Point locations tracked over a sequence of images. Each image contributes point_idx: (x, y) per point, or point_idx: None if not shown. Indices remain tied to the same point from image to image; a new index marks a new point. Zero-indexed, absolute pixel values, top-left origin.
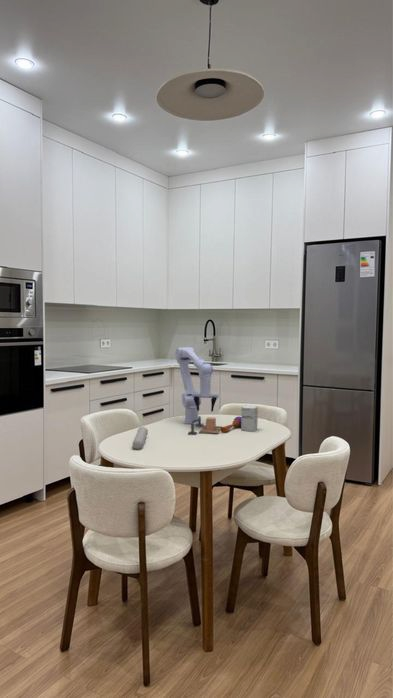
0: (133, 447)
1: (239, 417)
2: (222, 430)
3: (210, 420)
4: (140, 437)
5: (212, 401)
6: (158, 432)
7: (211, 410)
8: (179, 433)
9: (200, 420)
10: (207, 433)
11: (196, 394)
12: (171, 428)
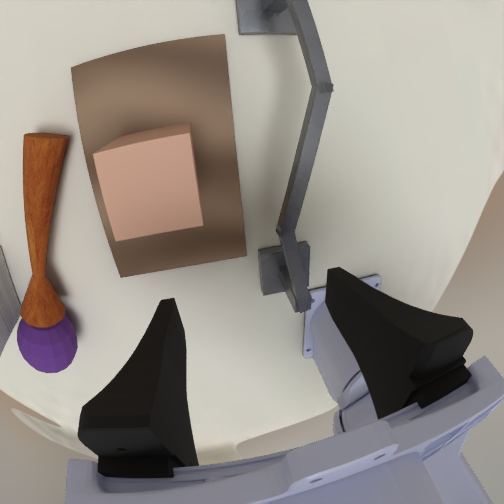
0: None
1: (28, 353)
2: (54, 136)
3: (138, 141)
4: None
5: (134, 394)
6: (454, 44)
7: (169, 303)
8: (357, 18)
9: (287, 284)
10: (152, 45)
11: (472, 414)
12: (424, 144)
